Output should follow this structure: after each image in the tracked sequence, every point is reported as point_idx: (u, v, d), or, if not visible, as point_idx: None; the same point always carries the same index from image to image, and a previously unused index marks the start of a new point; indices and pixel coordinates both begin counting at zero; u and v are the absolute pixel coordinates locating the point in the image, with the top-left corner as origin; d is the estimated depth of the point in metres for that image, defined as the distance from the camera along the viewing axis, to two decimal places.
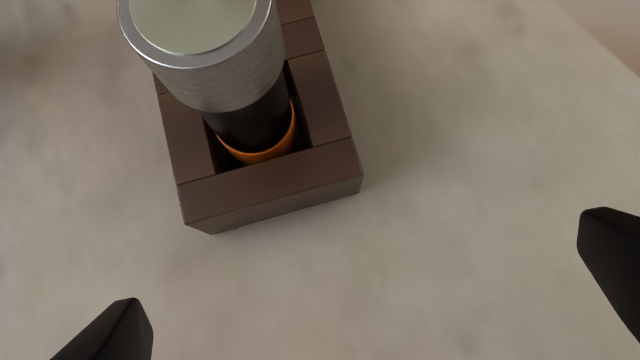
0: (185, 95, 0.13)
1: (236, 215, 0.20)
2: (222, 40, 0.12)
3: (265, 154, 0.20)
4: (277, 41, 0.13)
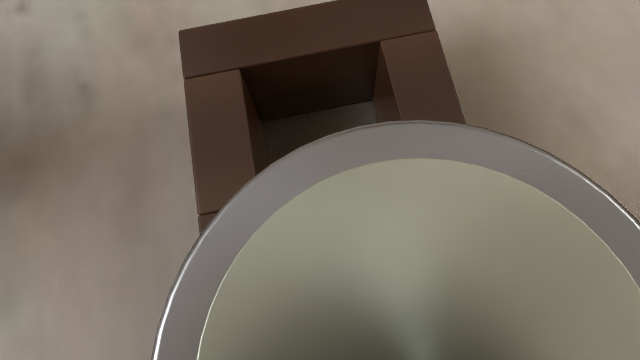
0: None
1: None
2: None
3: None
4: None
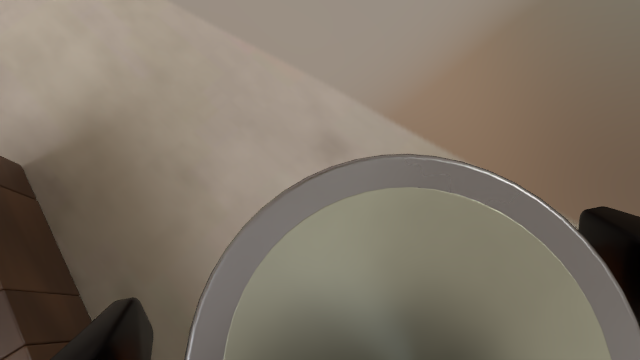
0: None
1: None
2: None
3: None
4: None
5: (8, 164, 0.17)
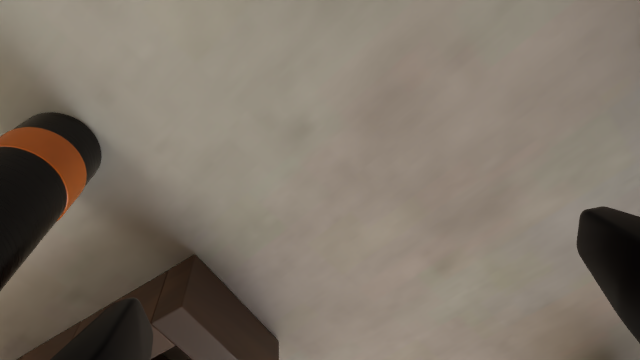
0: None
1: None
2: None
3: (66, 175, 0.17)
4: None
5: None
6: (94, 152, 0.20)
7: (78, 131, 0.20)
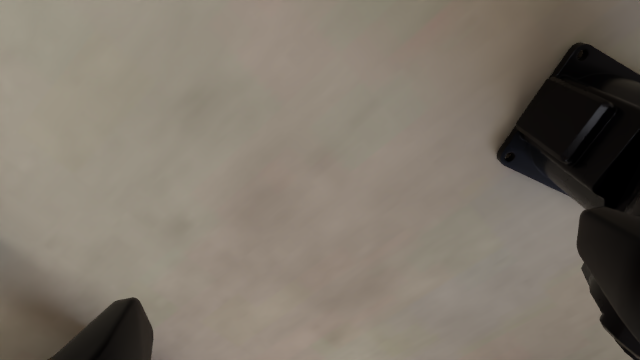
0: None
1: None
2: None
3: None
4: None
5: None
6: None
7: None
